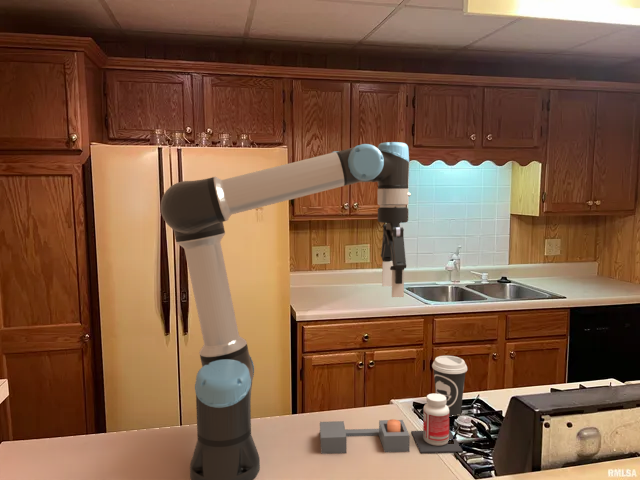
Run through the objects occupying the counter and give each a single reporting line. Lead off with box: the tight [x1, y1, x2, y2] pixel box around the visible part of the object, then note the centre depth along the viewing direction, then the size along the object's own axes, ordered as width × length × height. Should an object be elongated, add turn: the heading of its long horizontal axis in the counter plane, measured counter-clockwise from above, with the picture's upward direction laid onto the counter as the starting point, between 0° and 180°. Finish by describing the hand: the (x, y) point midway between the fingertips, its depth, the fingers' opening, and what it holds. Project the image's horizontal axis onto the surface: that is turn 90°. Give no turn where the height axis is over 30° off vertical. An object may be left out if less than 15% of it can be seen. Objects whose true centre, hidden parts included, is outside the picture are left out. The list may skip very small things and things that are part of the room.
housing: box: [319, 419, 411, 455], centre depth 118 cm, size 21×10×4 cm, turn 92°
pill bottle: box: [422, 393, 450, 446], centre depth 118 cm, size 6×6×11 cm
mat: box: [410, 429, 464, 455], centre depth 118 cm, size 10×10×1 cm
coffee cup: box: [431, 355, 468, 416], centre depth 134 cm, size 10×10×15 cm
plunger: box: [387, 418, 401, 432], centre depth 117 cm, size 3×3×5 cm
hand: (392, 291), depth 120 cm, fingers open, 13 cm apart
